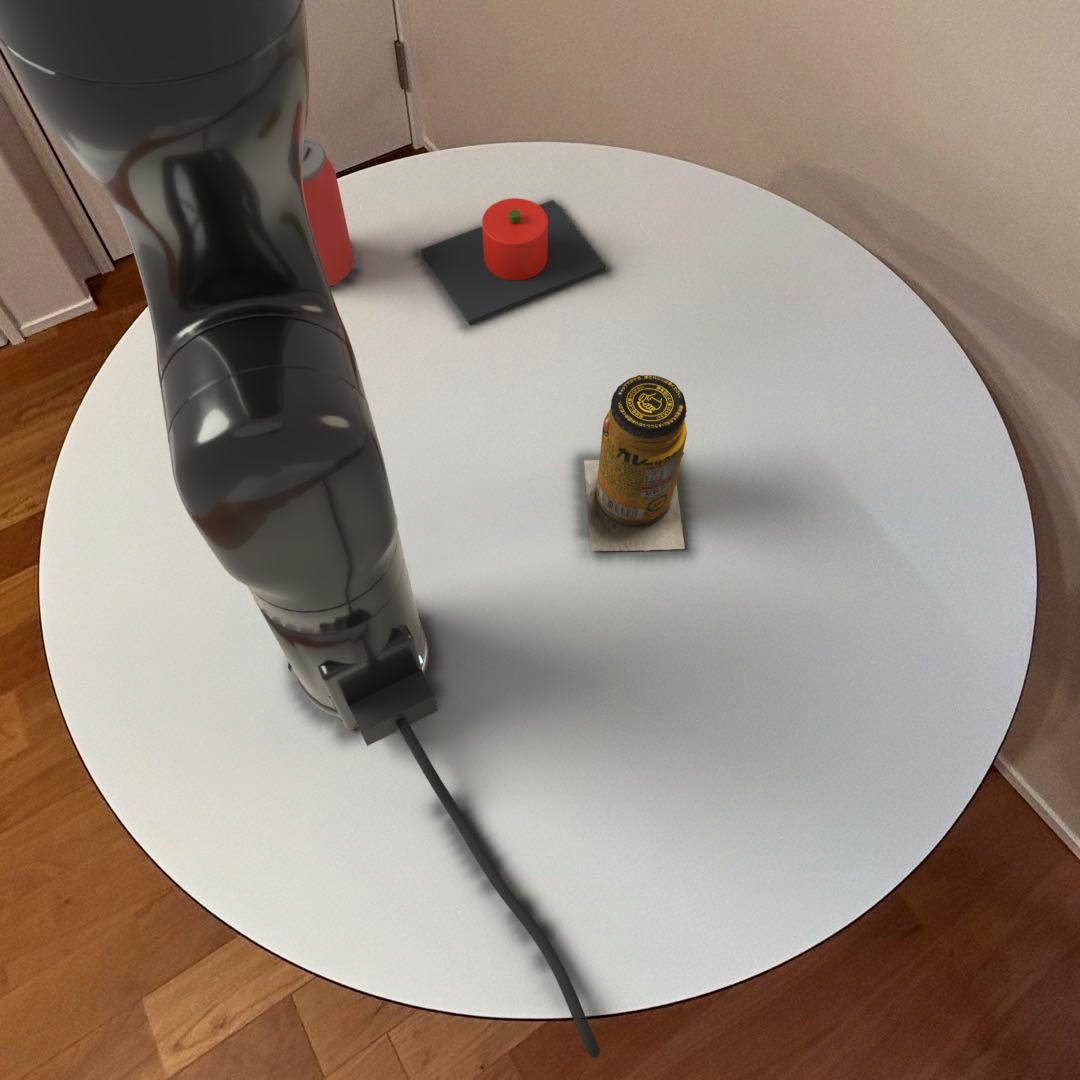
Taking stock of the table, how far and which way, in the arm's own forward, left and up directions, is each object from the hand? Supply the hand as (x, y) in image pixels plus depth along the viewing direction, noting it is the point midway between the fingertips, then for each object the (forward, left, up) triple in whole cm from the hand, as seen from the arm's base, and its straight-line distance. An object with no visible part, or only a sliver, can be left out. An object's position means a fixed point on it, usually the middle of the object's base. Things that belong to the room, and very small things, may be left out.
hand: (275, 64), depth 63 cm
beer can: (+9, -1, -27) cm, 28 cm away
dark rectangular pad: (+1, -17, -26) cm, 32 cm away
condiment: (-27, -13, -27) cm, 40 cm away
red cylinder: (+1, -18, -26) cm, 31 cm away
